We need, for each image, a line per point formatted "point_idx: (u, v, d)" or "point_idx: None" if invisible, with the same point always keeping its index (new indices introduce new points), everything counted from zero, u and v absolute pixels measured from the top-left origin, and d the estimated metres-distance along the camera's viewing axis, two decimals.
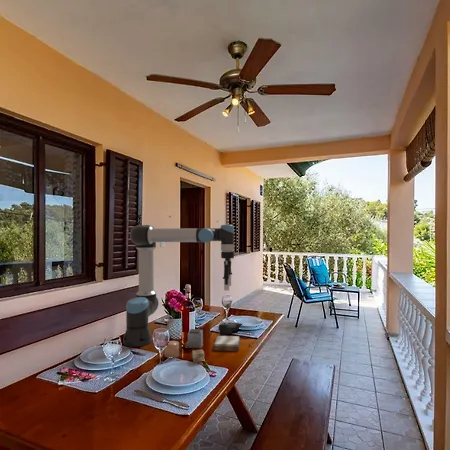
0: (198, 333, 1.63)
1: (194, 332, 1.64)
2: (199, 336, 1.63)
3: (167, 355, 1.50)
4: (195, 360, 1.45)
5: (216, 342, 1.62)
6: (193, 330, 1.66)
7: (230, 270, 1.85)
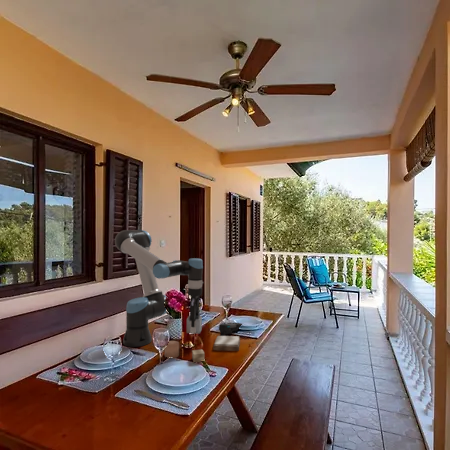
0: (197, 319, 1.63)
1: None
2: (198, 322, 1.63)
3: (167, 355, 1.50)
4: (195, 360, 1.45)
5: (216, 342, 1.62)
6: None
7: (197, 310, 1.69)
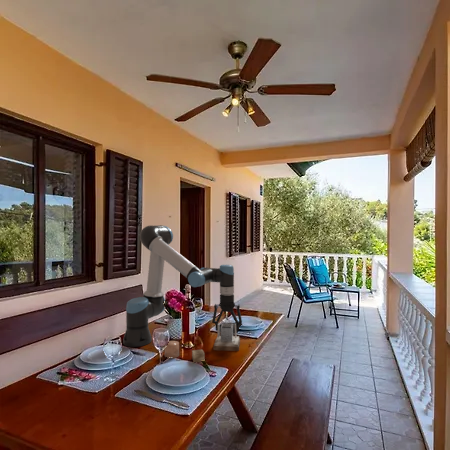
0: (221, 327, 1.63)
1: (222, 325, 1.66)
2: None
3: (167, 355, 1.50)
4: (195, 360, 1.45)
5: (216, 342, 1.62)
6: (227, 324, 1.66)
7: (233, 318, 1.64)
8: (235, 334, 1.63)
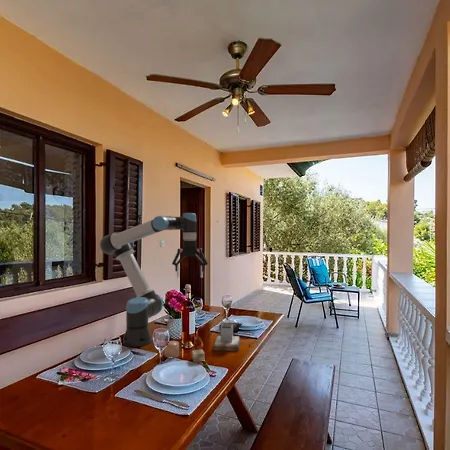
0: (221, 327, 1.63)
1: (222, 325, 1.66)
2: None
3: (167, 355, 1.50)
4: (195, 360, 1.45)
5: (216, 342, 1.62)
6: (227, 324, 1.66)
7: None
8: (201, 274, 1.75)
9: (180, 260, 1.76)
